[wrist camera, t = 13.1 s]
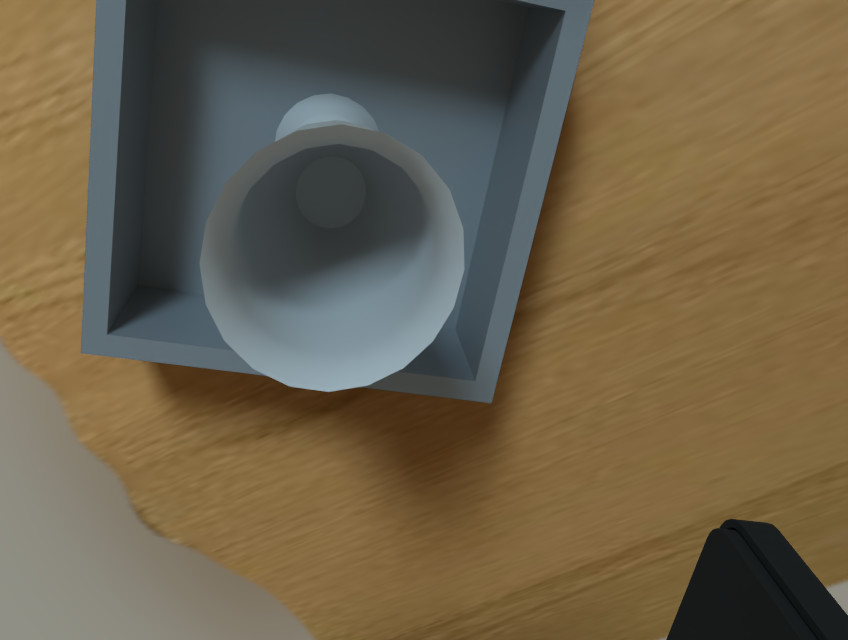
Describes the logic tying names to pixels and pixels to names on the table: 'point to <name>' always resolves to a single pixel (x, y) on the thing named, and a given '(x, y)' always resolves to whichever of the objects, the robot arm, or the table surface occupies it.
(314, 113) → the chalice
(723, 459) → the table surface
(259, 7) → the bin
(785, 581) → the robot arm
